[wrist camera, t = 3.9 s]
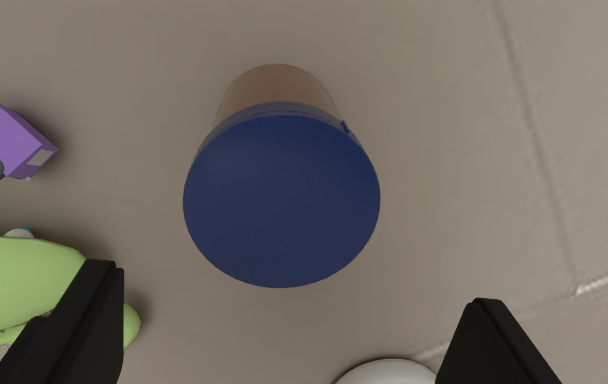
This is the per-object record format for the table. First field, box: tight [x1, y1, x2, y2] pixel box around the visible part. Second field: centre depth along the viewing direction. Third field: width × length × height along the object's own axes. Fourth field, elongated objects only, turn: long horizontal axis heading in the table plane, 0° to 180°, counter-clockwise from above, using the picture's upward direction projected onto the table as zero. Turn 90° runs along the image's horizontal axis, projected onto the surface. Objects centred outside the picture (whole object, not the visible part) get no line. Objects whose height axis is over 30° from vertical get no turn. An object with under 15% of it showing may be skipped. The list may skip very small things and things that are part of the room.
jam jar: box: [211, 64, 342, 131], centre depth 20 cm, size 6×6×9 cm
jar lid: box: [183, 101, 380, 288], centre depth 16 cm, size 7×7×2 cm
